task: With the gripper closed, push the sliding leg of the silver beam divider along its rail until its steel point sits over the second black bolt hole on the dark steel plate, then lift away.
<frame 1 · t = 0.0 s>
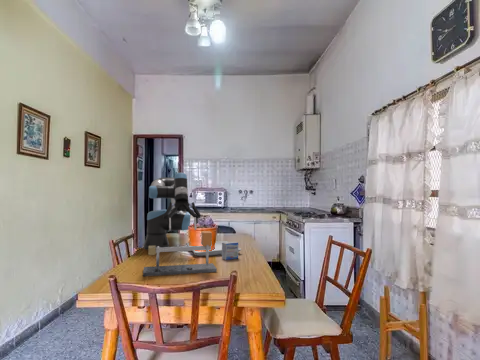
hand: (183, 229, 171), 15 cm above the table, tool tilted 35°, fingers open, 13 cm apart
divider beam: (180, 255, 144), on the bolt plate, point 7 cm above the table
sliding leg: (206, 248, 148), point 10 cm above the table, slide at 8.0 cm
medicine box: (230, 259, 170), on the table
bolt plate: (180, 271, 145), on the table
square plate: (212, 252, 188), on the table
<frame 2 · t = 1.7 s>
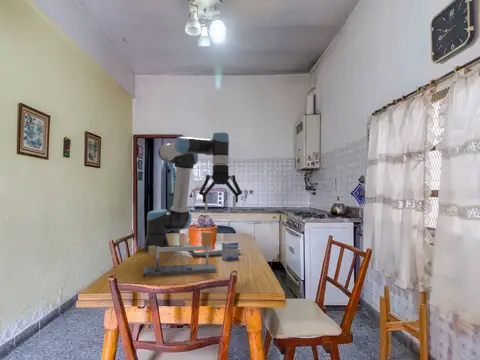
hand: (220, 209, 150), 28 cm above the table, tool pointing down, fingers open, 13 cm apart
nothing on the table moved.
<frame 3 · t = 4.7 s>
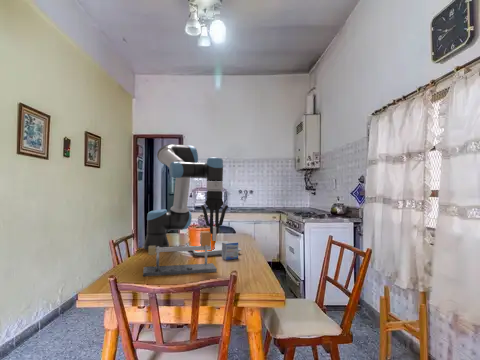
hand: (213, 240, 149), 13 cm above the table, tool pointing down, fingers closed
sliding leg: (205, 248, 148), point 10 cm above the table, slide at 7.4 cm, touching gripper
everything else where it was.
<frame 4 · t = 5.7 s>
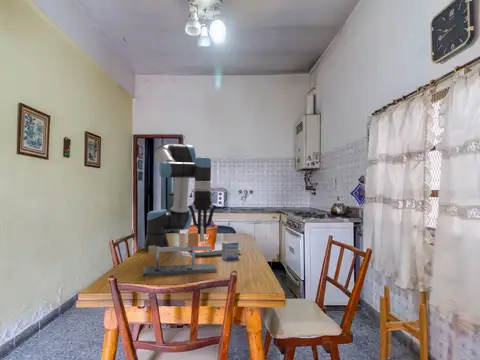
hand: (201, 241, 147), 13 cm above the table, tool pointing down, fingers closed
sliding leg: (192, 248, 146), point 10 cm above the table, slide at 1.7 cm, touching gripper
everything else where it was.
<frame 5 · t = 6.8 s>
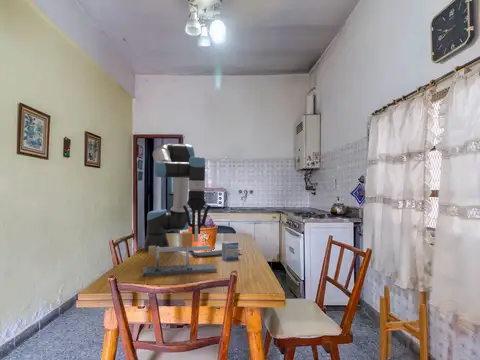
hand: (195, 241, 147), 13 cm above the table, tool pointing down, fingers closed
sliding leg: (187, 249, 145), point 10 cm above the table, slide at -1.0 cm, touching gripper
everything else where it was.
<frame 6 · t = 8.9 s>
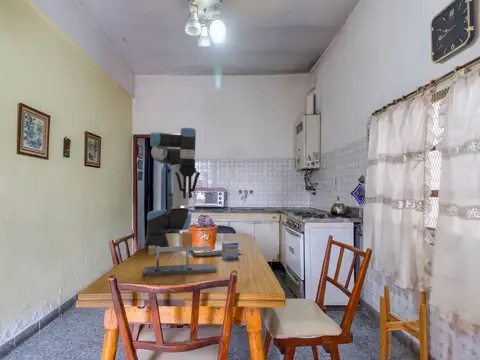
hand: (186, 204, 161), 29 cm above the table, tool pointing down, fingers closed
sliding leg: (187, 249, 145), point 10 cm above the table, slide at -1.0 cm
everything else where it was.
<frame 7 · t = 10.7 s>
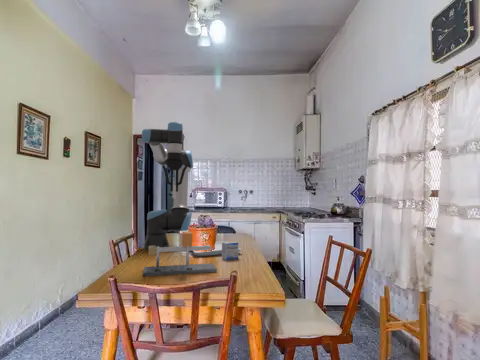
hand: (174, 198, 164), 32 cm above the table, tool pointing down, fingers closed
nothing on the table moved.
at the end: sliding leg slide at -1.0 cm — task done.
